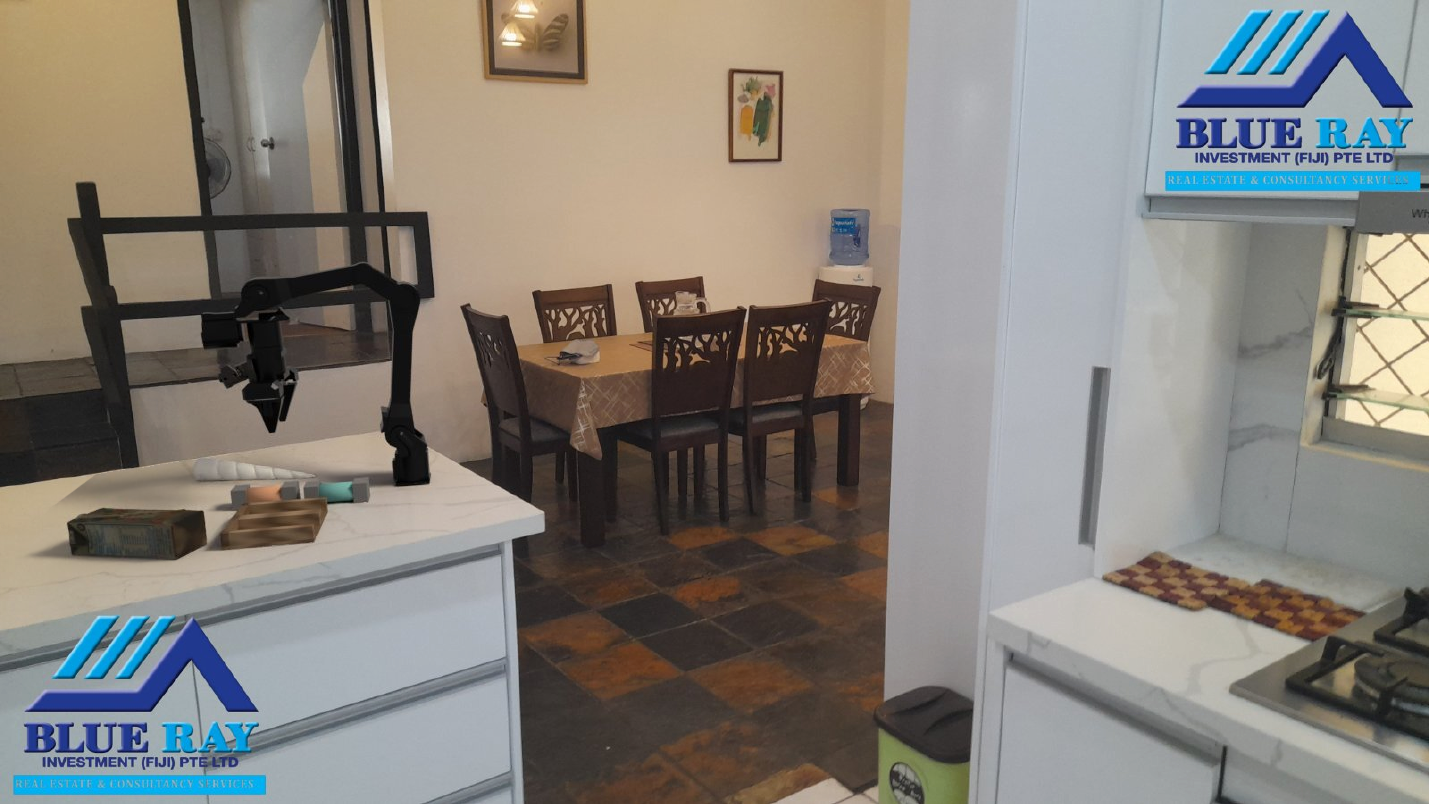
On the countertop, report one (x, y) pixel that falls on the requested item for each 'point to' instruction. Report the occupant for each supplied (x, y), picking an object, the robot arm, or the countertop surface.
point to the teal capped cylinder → (339, 490)
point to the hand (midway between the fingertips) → (277, 427)
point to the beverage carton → (137, 533)
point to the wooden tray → (274, 523)
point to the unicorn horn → (239, 471)
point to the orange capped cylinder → (264, 493)
